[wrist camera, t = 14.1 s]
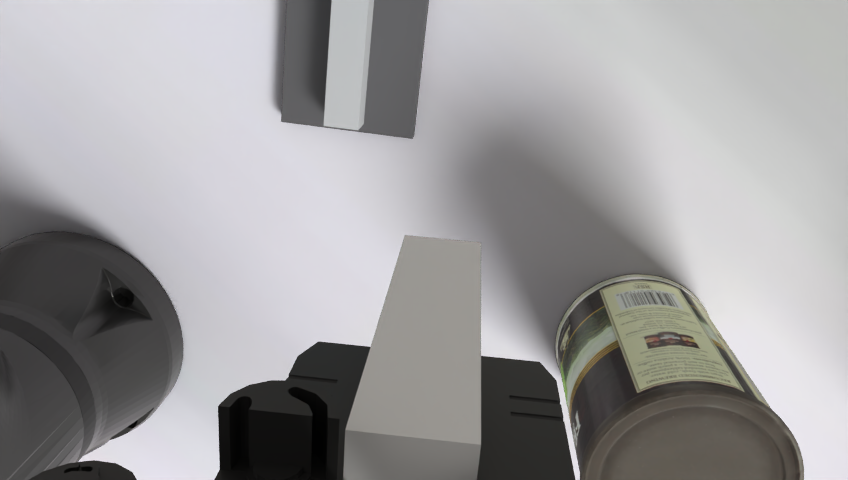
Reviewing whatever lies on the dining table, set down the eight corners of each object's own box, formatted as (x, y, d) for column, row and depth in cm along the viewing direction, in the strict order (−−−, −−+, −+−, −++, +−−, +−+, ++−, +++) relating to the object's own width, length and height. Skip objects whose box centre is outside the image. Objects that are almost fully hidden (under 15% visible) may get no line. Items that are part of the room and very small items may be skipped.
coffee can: (593, 433, 49) (632, 596, 36) (528, 312, 47) (545, 441, 34) (738, 377, 47) (836, 529, 34) (678, 246, 44) (759, 356, 31)
